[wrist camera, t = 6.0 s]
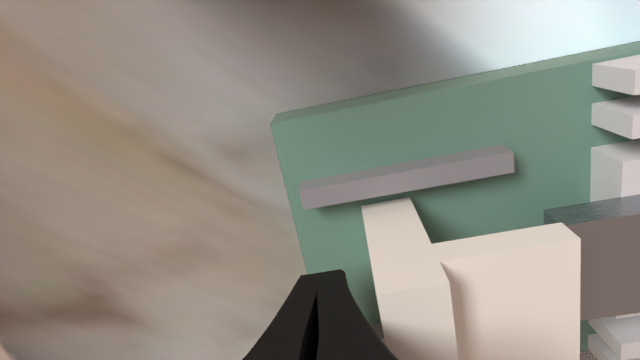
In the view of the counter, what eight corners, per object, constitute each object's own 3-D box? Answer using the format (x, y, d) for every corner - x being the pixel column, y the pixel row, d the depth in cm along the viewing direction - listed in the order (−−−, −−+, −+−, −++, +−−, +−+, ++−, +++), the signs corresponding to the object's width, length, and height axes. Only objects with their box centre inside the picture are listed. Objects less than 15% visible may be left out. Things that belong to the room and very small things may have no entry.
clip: (510, 179, 12) (603, 257, 8) (516, 291, 14) (599, 408, 10) (361, 206, 13) (375, 293, 9) (380, 312, 14) (402, 433, 10)
